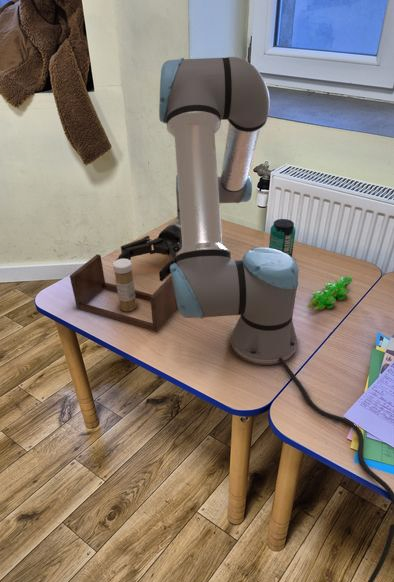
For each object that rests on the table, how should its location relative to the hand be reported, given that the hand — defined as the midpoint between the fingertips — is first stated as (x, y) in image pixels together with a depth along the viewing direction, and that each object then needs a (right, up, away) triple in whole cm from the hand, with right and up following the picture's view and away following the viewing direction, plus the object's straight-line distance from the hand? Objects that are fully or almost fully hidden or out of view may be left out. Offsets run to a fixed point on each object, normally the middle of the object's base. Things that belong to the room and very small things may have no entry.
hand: (138, 271), depth 123 cm
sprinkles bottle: (-3, -10, +1) cm, 10 cm away
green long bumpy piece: (+51, -7, +2) cm, 51 cm away
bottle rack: (-3, -10, 0) cm, 10 cm away
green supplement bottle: (+40, +6, +18) cm, 45 cm away
